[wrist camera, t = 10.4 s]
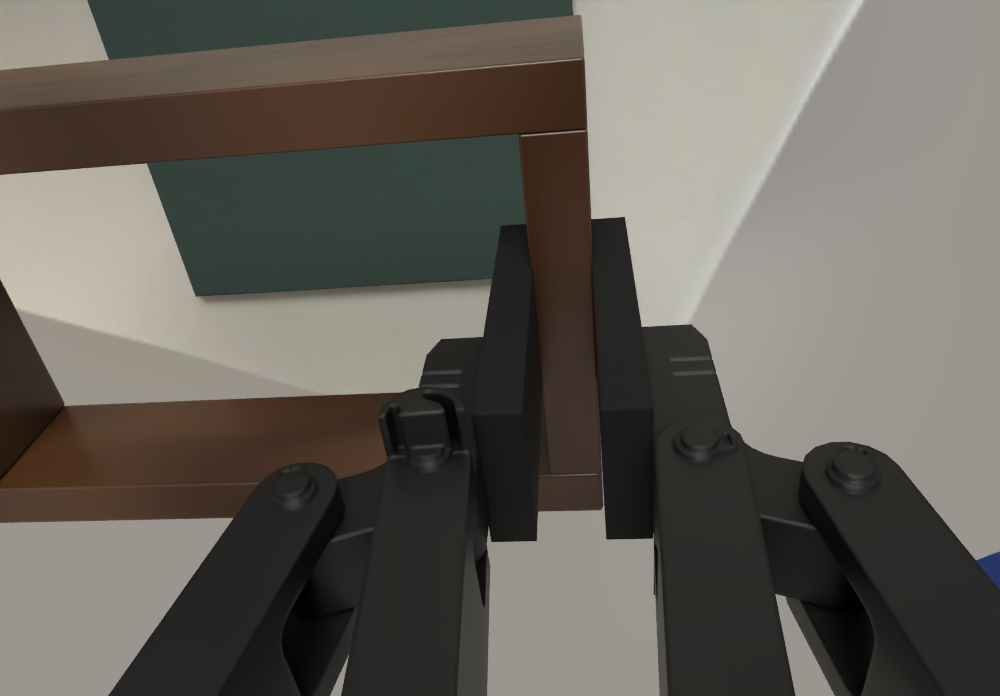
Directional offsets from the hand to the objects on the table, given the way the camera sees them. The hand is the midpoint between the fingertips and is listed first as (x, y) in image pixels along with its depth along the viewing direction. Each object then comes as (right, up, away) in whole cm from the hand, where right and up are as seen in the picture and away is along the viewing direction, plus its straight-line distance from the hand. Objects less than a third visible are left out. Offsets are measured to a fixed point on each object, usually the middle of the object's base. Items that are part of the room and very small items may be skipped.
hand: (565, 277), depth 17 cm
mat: (-7, +6, +11) cm, 14 cm away
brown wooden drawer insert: (-7, 0, +2) cm, 8 cm away
